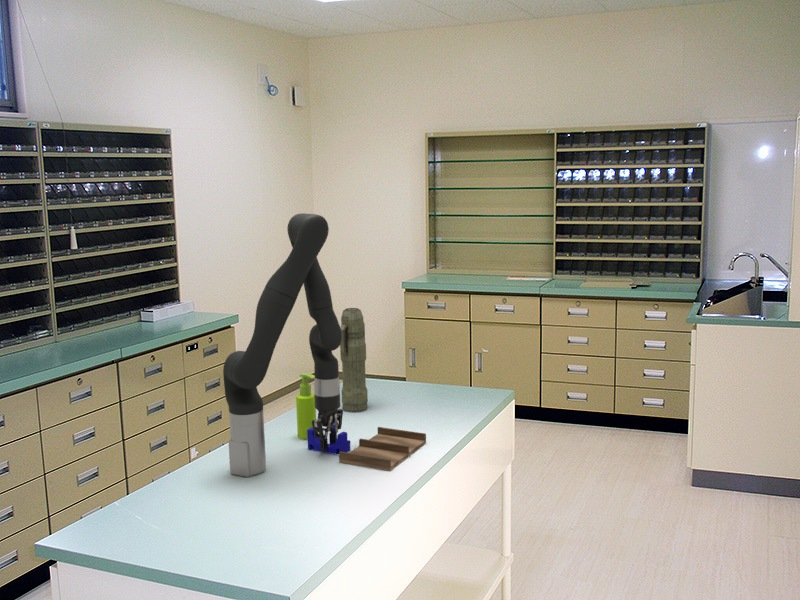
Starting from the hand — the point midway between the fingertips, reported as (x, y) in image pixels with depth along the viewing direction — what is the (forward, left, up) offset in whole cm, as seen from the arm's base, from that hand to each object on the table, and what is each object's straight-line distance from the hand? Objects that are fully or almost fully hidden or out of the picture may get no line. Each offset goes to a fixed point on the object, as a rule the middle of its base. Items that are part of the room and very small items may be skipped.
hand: (328, 447), depth 231 cm
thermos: (+38, +13, -1) cm, 40 cm away
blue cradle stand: (0, 0, -1) cm, 1 cm away
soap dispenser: (+7, +12, -1) cm, 14 cm away
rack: (+4, -16, -1) cm, 17 cm away
